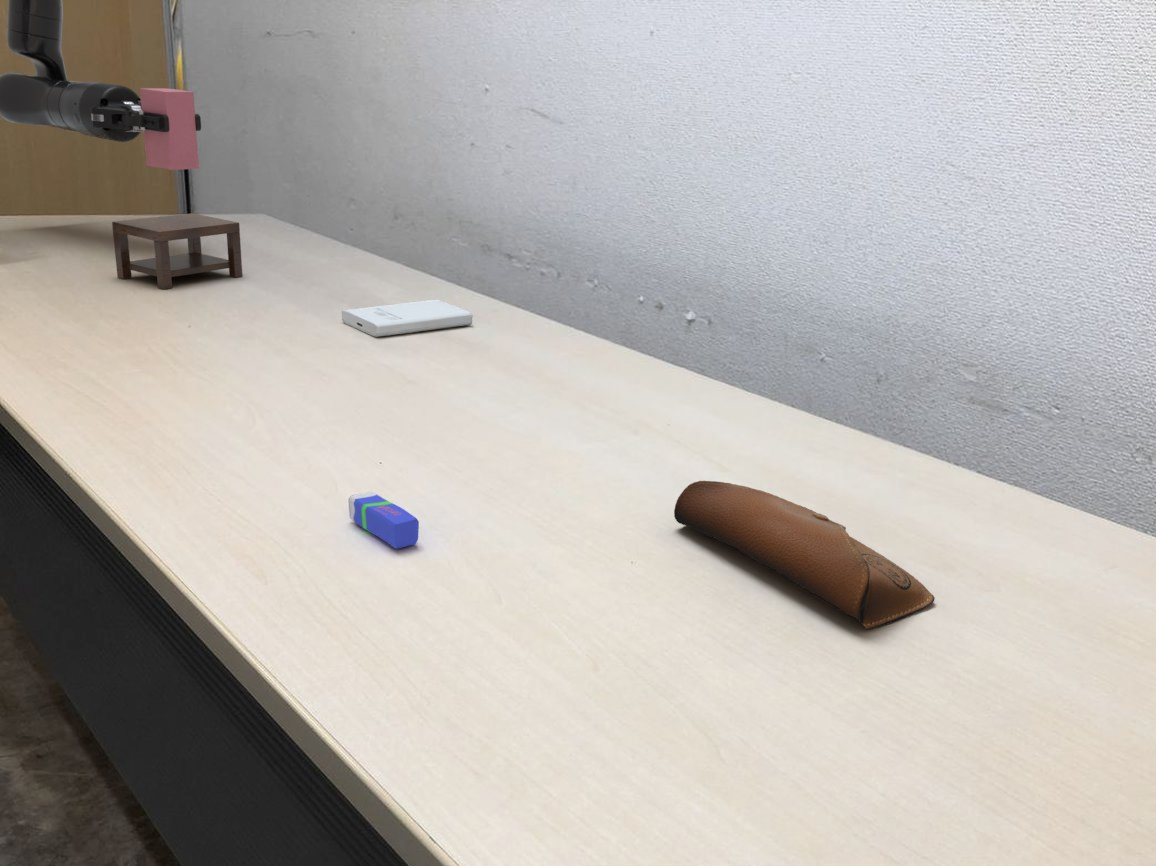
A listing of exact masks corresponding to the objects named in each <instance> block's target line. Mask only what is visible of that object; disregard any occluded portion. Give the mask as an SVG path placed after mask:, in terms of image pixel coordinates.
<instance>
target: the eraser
mask: <svg viewBox="0 0 1156 866" xmlns="http://www.w3.org/2000/svg"><path fill="white" fill-rule="evenodd" d="M348 511H349V518H350V520H351V521H352V522H354V524H356V525H358V526H359V527H361V528H362V529H364V530H366V531H367V532H369V533H370V534H372V535H374V536H376V537H378V538H379V539H380V540H382V541H384V542H385V543H387V544H388V545H390V546H391V547H392V548H394V549H396V550H398V549H402V548H406V547H409V546H413V545H416V544H417V543H418V540H419V529H420V527H419V524H420V521H419V520H418V518H417V517H416V516H415V515H413V514H411V513H410V512H409V511H407V510H405V508H403V507H400V506H399V505H397V504H395V503H393V502H391V501H389V500H387V499H386V498H383V497H382V496H380V495H379V494H377V493H376V492H374V491H371V490H369V491H365V492H361V493H357V494H352V495H350V496H349V497H348Z"/></svg>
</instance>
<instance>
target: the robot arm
mask: <svg viewBox="0 0 1156 866" xmlns="http://www.w3.org/2000/svg"><path fill="white" fill-rule="evenodd" d="M6 17H7V18H6V19H7V20H6V21H7V22H6V28H7V29H6V44H7V47H8V49H9V51H11V52H12V53H14V54H16V55H17V56H20V57H23V58H25V59H28V60H30V61H31V62H32V65H33V68H34V70H35V75H34V74H24V73H17V72H6V73H2V74H0V118H2V119H4V120H5V121H7V122H9V123H12V124H18V125H19V124H21V125H30V126H40V127H50V128H51V127H52V128H55V129H60V130H62V131H66V132H70V133H71V132H72V133H78V134H81V135H84V136H86V137H90V138H95V139H96V138H97V139H102V140H108V141H113V142H119V143H120V142H121V143H125V142H130V141H132V140H135V139H136V138H137V137H138V136H140V134H141V133H144V131H145V130H153V131H159V132H169V118H168V116H167V115H165V114H158V113H151V112H146V111H143V110H142V106H141V97H140V96H139V94H137V93H136V92H135V91H134V90H133V89H131V88H129V87H127V86H125V85H121V84H120V85H119V84H112V83H106V82H97V81H76V80H70V79H68V76H67V71H66V66H65V62H64V55H63V51H62V46H63V45H62V44H63V40H62V39H63V25H64V2H63V0H7V16H6ZM201 119H202V118H201V116H200V114H199V113H195V123H196V132H200V131H201V130H202V120H201Z"/></svg>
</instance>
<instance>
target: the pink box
mask: <svg viewBox="0 0 1156 866" xmlns="http://www.w3.org/2000/svg"><path fill="white" fill-rule="evenodd" d="M139 93H140V99H141V106H142V110H143V111H146V112H151V113H158V114H165V115H167V116H168V118H169V132H159V131H153V130H145V131H143V140H144V150H145V161H146V162H145V163H146V167H147V166H148V167H152V168H158V169H163V170H169V171H179V170H196V169H197V170H198V169H199V168H200V166H199V152H198V138H197V137H198V135H197V131H196V123H195V114H196V109H195V96H194V95H195V94H194V91H191V90H184V89H177V88H168V87H164V88H163V87H161V88H159V87H154V88H153V87H150V88H149V87H140V88H139Z"/></svg>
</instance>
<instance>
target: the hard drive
mask: <svg viewBox="0 0 1156 866" xmlns="http://www.w3.org/2000/svg"><path fill="white" fill-rule="evenodd" d="M341 321H342V322H343V323H344V324H346V325H348V326H350V327H353V328H355V329H356V330H359V331H361V332H364V333H366V334H368V335H370V336H372V337H375V338H377V337H384V336H385V337H387V336H395V335H403V334H410V333H419V332H425V331H434V330H440V329H441V330H442V329H448V328H455V327H463V326H471V325H472V324H473V314H472V313H471V311H469V310H466V309H463V308H461V307H458V306H455V305H453V304H451V303H447V302H445V301H442V300H440V299H428V300H427V299H426V300H419V301H410V302H401V303H394V304H384V305H377V306H369V307H367V306H366V307H360V308H349V309H343V310H341Z"/></svg>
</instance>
